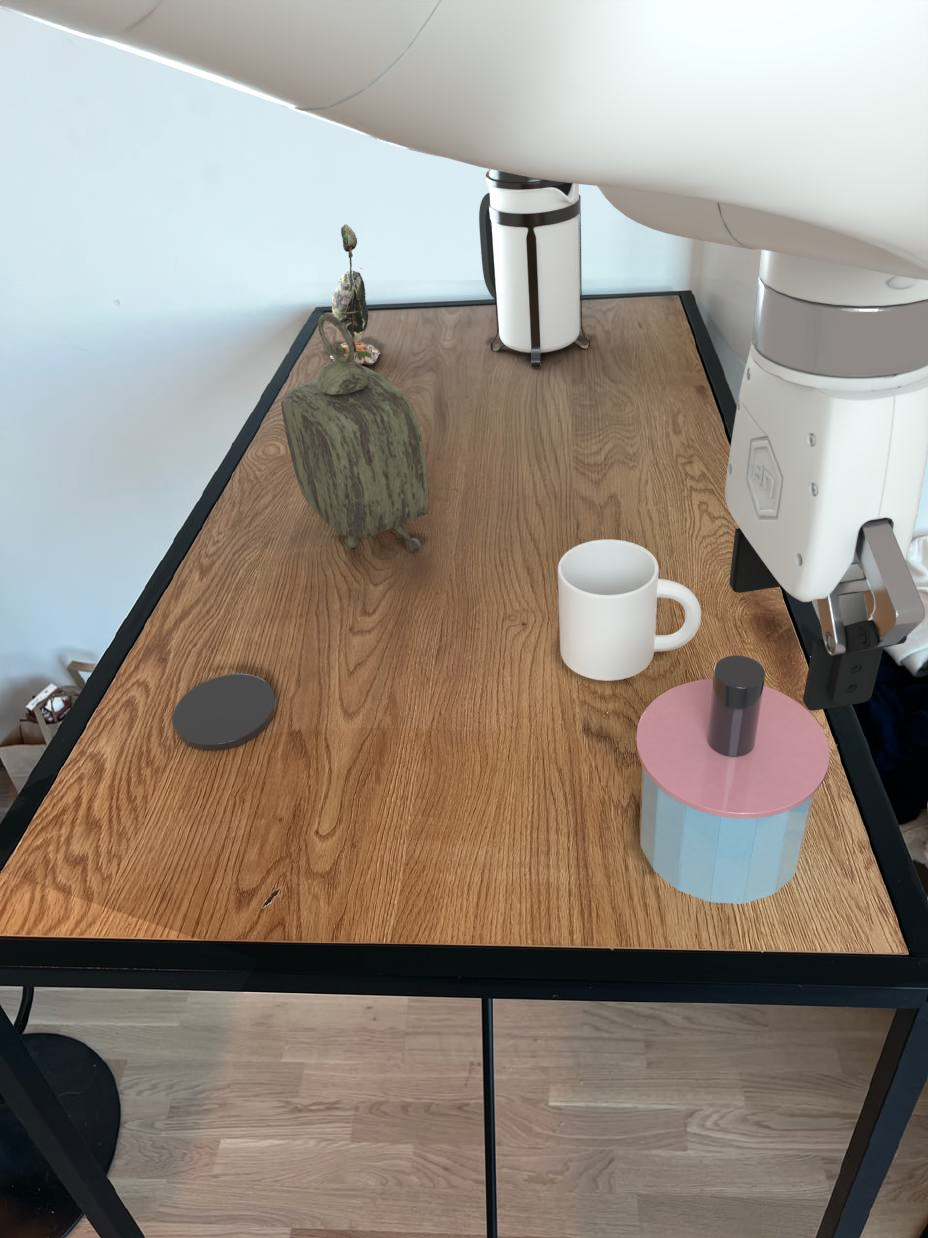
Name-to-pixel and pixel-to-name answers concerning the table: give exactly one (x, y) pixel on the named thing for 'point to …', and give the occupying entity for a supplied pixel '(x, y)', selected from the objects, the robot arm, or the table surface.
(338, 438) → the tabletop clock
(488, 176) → the coffee press
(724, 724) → the lid
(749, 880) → the hollow cylinder
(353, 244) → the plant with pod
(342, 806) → the table surface
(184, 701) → the coaster
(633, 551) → the mug
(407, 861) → the table surface
